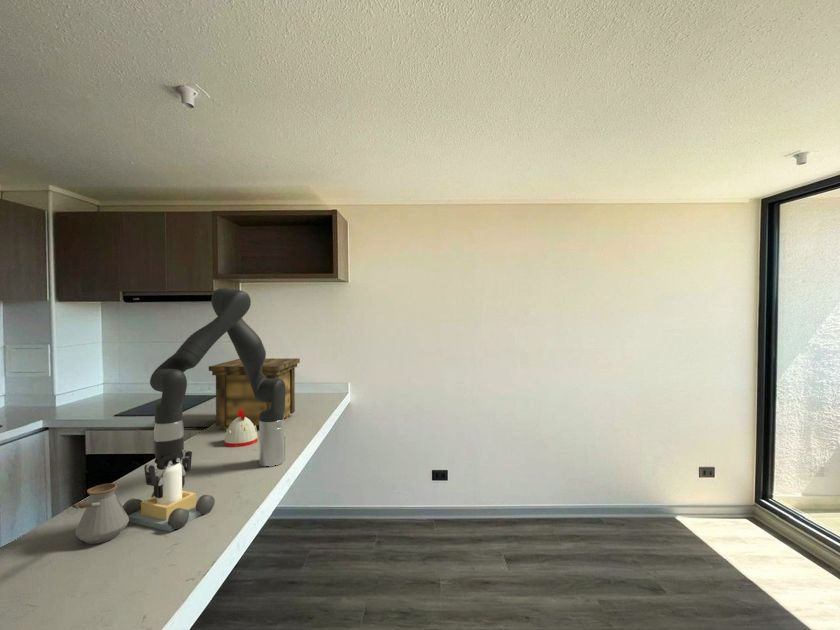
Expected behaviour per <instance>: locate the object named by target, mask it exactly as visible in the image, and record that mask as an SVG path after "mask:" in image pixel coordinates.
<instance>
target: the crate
mask: <svg viewBox="0 0 840 630" xmlns="http://www.w3.org/2000/svg"><path fill="white" fill-rule="evenodd" d="M300 363H301V358H297V357H296V358H294V357H293V358H265V361H264V364H263V366H262V373H263V375H264V377H265V378H267V379H282V380H283V381H284V383H285V386H286V396H285V411H284V420H287V419H288V418H289V417H290V415H291V414H293V413H295V412H296V406H295V405H296V397H295V396H296V392H295V391H296V388H295V387H296V386H295V385H296V379H295V377H296V375H295V374H296V372H295V371H296V370H295V369H296V368H298V364H300ZM208 372H212V374H211V375H212V376H215V426H217V427H221V426H222V430H226V429H228V427H229V426H230V424H231V423H232V422H233V420H235V419H236V418H237V417H238V411H239V410H240V409H242V410H243V411H244V414H245V417H246V418H248V419H249V420H250V421H251V422H252V423H253V425H254V426H255V425H256V426H259V414H260V413H261V412H263V411H265V410H268V409H270V408H271V402H261V401H258V400H257V399H256V397H255V395H254V393H253V390H252V387H251V384H250V381H249V378H248V375H247V373H246V370H245V368H244V366H243V364H242V362H241V360H240V358H236V359H233V360H229V361H225V362H221V363H217V364H213V365H209V366H208Z"/></svg>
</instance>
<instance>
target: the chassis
mask: <svg viewBox="0 0 840 630" xmlns="http://www.w3.org/2000/svg"><path fill="white" fill-rule="evenodd" d="M150 496H151V497H150V498H148V499H144V500H141V499H139V498H135V497H134V498H130V499H127V500H126V501H125V502H124V504H123V505H122V507H123V508H124V510H125V512H126V513H127V515H128V517H129V522H128V523H132V524H137V525H141V526H145V527H150V528H154V529H158V530H163V531H167V532H173V531H174V530H176V529H177V530H179V529H182V528H184V527H185V526H186V524H188V523H189V522H191V521H192V520H194V519H197V518H198V517H200V516H202V515H207V514H208V513H210V512H211V511H212V510H213V508H214V507H215V504H216V503H215V497H214V496H213V495H208V494H202V495H201V496H199V498H198V499H197V492H191V491H187V490H182V499H180V500H178V501H176V502H174V503H172V504H170V505H168V506H166V505H161V504H157V498H156V497H155V496H154V491H152V493H151V495H150Z"/></svg>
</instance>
